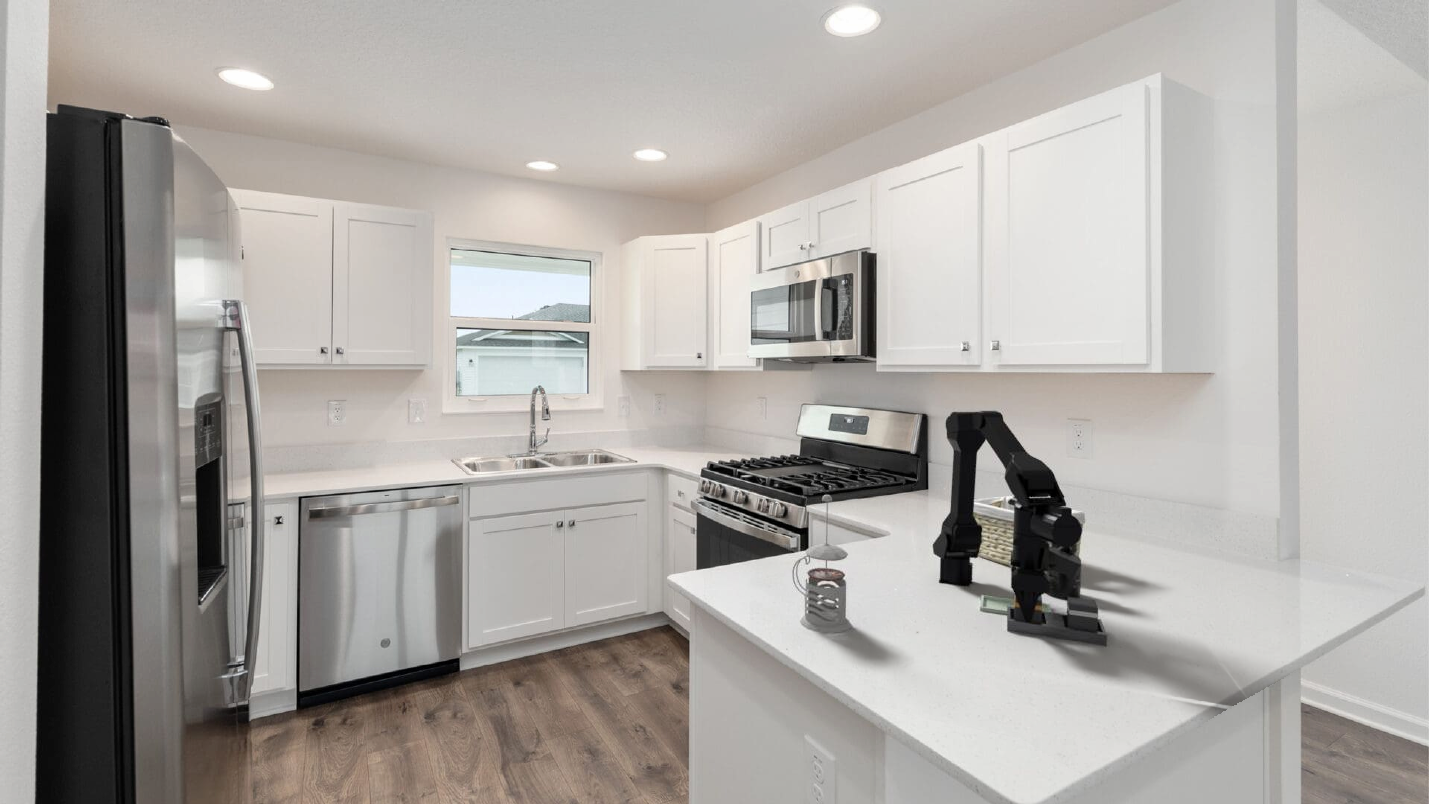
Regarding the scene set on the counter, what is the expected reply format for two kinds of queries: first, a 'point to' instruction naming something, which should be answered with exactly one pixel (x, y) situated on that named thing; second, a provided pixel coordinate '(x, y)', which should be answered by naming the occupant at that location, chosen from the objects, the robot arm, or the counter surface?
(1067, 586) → the supplement bottle
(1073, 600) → the twin plug
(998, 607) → the tray
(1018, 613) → the dark grey striped block
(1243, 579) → the counter surface
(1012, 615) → the strip
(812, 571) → the french press
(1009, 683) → the counter surface
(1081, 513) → the storage basket
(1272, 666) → the counter surface
